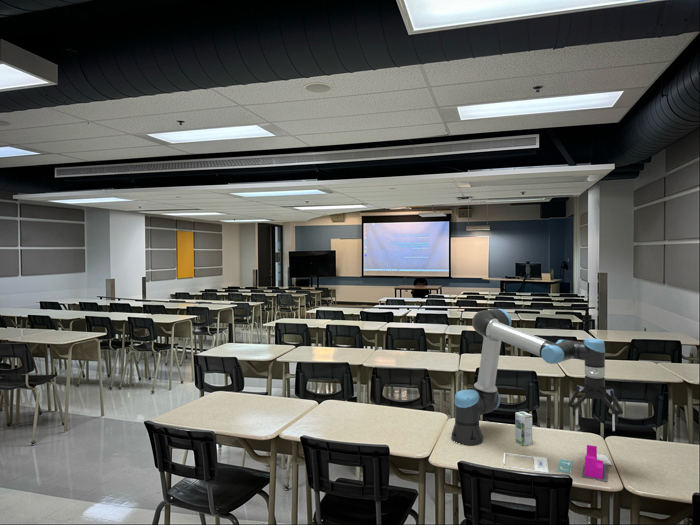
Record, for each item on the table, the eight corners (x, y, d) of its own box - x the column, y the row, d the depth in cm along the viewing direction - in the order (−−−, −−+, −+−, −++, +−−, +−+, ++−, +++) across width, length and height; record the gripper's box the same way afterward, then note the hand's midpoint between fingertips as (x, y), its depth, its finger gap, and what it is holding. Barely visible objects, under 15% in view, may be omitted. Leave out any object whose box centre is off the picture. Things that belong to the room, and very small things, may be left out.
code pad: (556, 470, 194) (556, 470, 194) (560, 459, 205) (560, 458, 205) (569, 473, 192) (569, 473, 192) (573, 461, 203) (573, 461, 203)
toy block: (602, 479, 185) (602, 460, 185) (584, 475, 189) (584, 457, 189) (603, 464, 198) (603, 447, 198) (587, 461, 202) (587, 444, 201)
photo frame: (548, 472, 192) (502, 465, 198) (548, 474, 192) (502, 468, 198) (546, 457, 205) (503, 452, 212) (546, 460, 205) (504, 454, 212)
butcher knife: (603, 452, 212) (603, 449, 212) (612, 465, 198) (612, 462, 198) (591, 450, 213) (591, 448, 213) (599, 463, 199) (599, 461, 199)
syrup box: (514, 442, 225) (514, 412, 225) (524, 440, 227) (524, 410, 227) (522, 446, 220) (522, 416, 220) (532, 444, 222) (532, 414, 222)
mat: (581, 476, 188) (581, 476, 188) (585, 461, 203) (585, 460, 203) (607, 482, 184) (607, 481, 184) (608, 465, 198) (608, 464, 198)
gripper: (561, 374, 196) (561, 424, 197) (629, 382, 184) (629, 435, 184) (563, 370, 203) (563, 418, 203) (629, 377, 190) (629, 429, 190)
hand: (594, 426), depth 193 cm, fingers open, 13 cm apart
